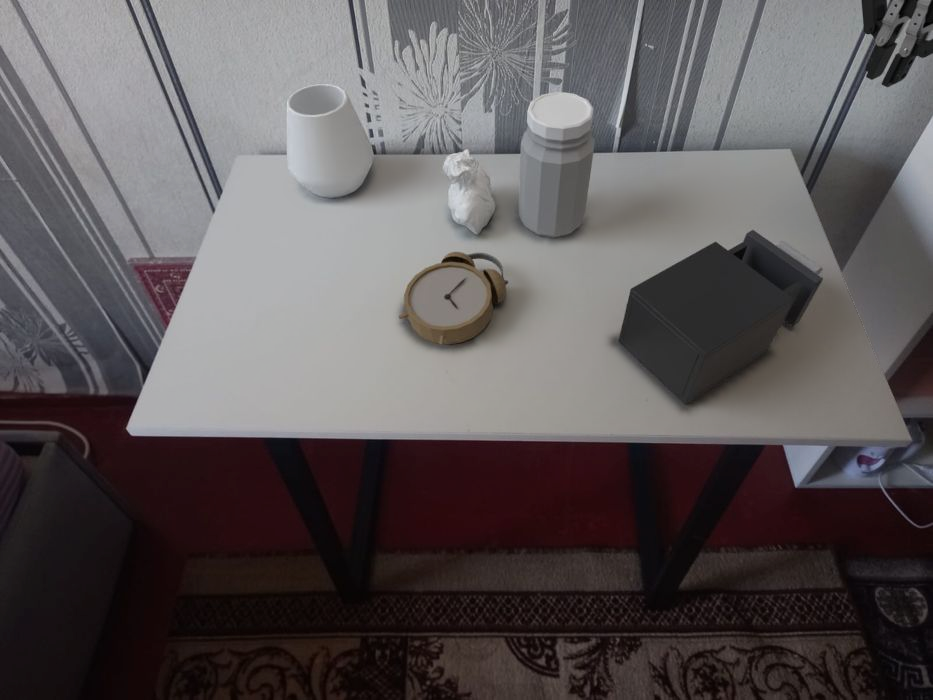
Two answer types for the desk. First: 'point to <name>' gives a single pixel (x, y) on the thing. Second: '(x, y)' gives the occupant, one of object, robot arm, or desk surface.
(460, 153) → the white tied bag
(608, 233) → the desk surface
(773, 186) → the desk surface
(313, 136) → the white vase
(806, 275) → the drawer
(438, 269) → the alarm clock
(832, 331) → the desk surface
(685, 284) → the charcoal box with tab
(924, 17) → the robot arm
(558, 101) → the jar
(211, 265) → the desk surface
